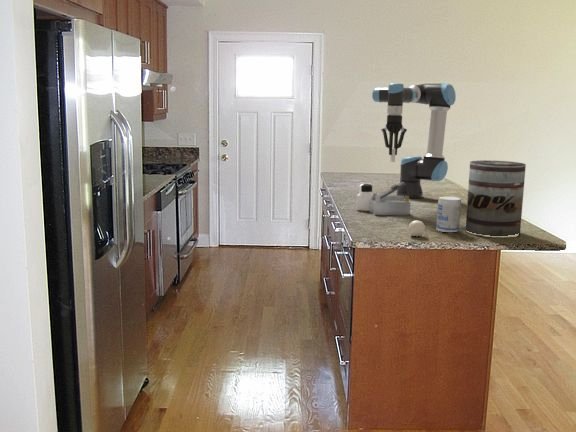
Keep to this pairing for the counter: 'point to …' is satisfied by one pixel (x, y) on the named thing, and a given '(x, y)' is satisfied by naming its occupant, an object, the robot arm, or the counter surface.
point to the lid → (392, 189)
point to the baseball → (416, 228)
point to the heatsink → (389, 205)
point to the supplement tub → (448, 214)
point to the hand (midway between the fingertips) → (392, 161)
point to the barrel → (495, 197)
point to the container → (364, 197)
